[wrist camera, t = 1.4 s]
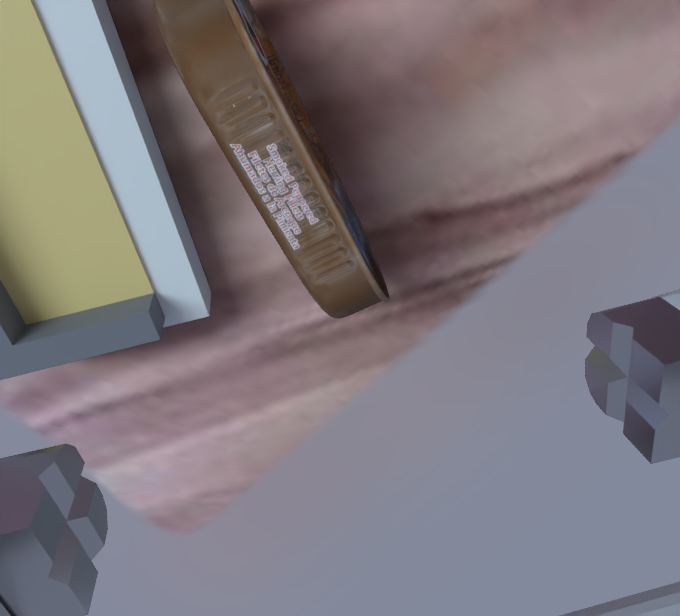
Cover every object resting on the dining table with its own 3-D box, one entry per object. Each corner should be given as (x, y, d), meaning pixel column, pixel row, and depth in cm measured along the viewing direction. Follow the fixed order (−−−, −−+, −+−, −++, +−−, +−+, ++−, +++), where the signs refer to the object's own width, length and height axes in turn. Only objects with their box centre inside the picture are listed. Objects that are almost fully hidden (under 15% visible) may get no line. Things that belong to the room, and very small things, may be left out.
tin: (374, 249, 30) (417, 330, 23) (321, 275, 30) (347, 364, 23) (223, -54, 23) (216, -76, 15) (156, -15, 23) (117, -18, 16)
